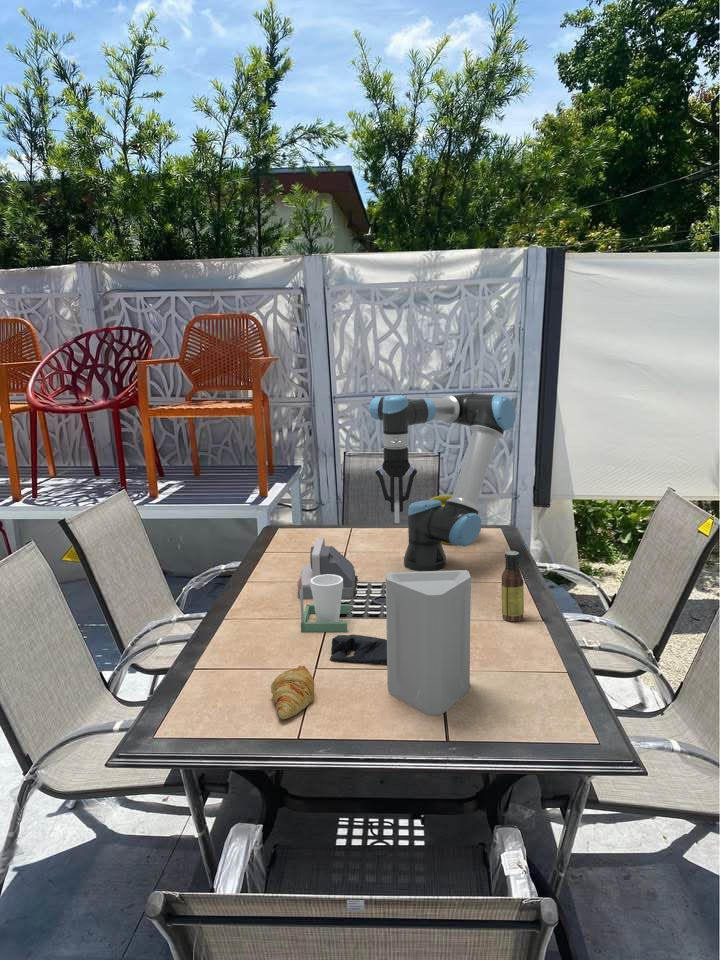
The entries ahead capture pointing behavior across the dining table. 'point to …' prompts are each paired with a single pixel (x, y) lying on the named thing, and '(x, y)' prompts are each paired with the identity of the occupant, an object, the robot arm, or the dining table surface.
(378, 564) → the dining table surface
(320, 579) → the foam cup
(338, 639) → the crumpled black cloth
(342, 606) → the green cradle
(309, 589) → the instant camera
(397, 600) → the grey triangular prism
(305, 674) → the croissant
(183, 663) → the dining table surface
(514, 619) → the sauce bottle
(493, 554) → the dining table surface
